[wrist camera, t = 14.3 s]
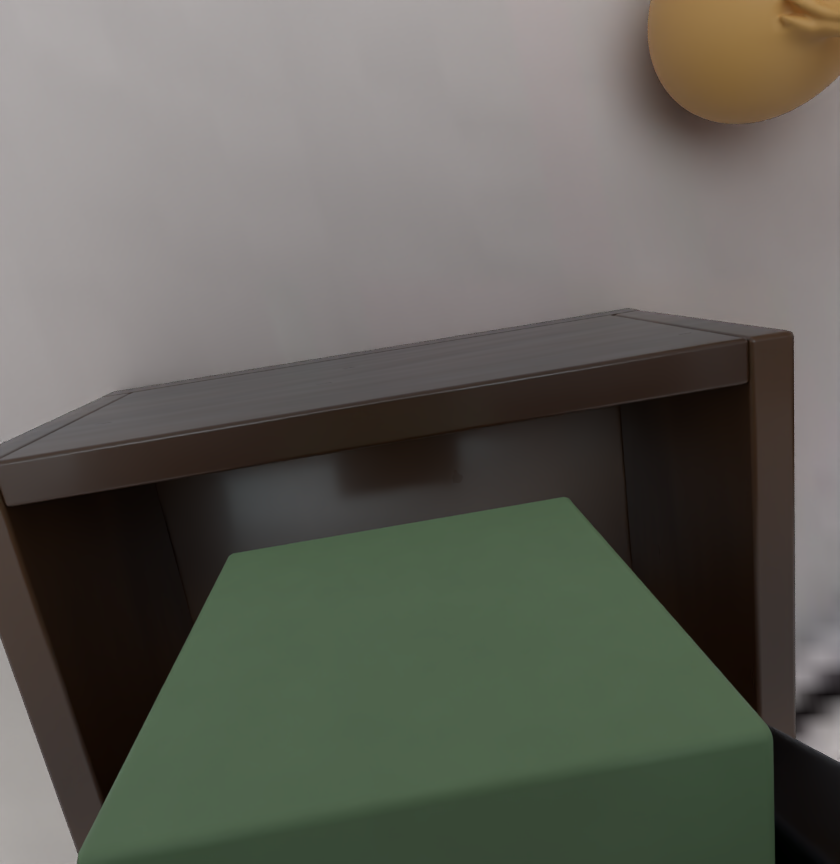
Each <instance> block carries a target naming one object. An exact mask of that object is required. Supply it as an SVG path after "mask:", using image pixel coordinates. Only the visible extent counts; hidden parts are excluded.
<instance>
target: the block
mask: <svg viewBox="0 0 840 864" xmlns="http://www.w3.org/2000/svg"><path fill="white" fill-rule="evenodd" d="M77 864H775V828H774V764H773V737H772V733H771V731H770V729H769V727H768V725H767V724H766V723H765V722H764V721H763V720H762V718H761V717H760V716H759V715H758V714H757V713H756V712H755V710H754V709H753V708H752V707H751V706H750V705H749V704H748V702H747V701H746V700H745V699H744V698H743V697H742V696H741V694H740V693H739V692H738V691H737V690H736V689H735V688H734V686H733V685H732V684H731V683H730V682H729V681H728V680H727V678H726V677H725V676H724V675H723V674H722V673H721V672H720V670H719V669H718V668H717V667H716V666H715V665H714V664H713V662H712V661H711V660H710V659H709V658H708V657H707V656H706V654H705V653H704V652H703V651H702V650H701V649H700V648H699V646H698V645H697V644H696V643H695V642H694V641H693V640H692V638H691V637H690V636H689V635H688V634H687V633H686V632H685V630H684V629H683V628H682V627H681V626H680V625H679V624H678V622H677V621H676V620H675V619H674V618H673V617H672V616H671V614H670V613H669V612H668V611H667V610H666V609H665V608H664V606H663V605H662V604H661V603H660V602H659V601H658V600H657V598H656V597H655V596H654V595H653V594H652V593H651V592H650V590H649V589H648V588H647V587H646V586H645V585H644V584H643V582H642V581H641V580H640V579H639V578H638V577H637V576H636V575H635V573H634V572H633V571H632V570H631V569H630V568H629V567H628V565H627V564H626V563H625V562H624V561H623V560H622V559H621V557H620V556H619V555H618V554H617V553H616V552H615V551H614V549H613V548H612V547H611V546H610V545H609V544H608V543H607V541H606V540H605V539H604V538H603V537H602V536H601V535H600V533H599V532H598V531H597V530H596V529H595V528H594V527H593V525H592V524H591V523H590V522H589V521H588V520H587V519H586V517H585V516H584V515H583V514H582V513H581V512H580V511H579V509H578V508H577V507H576V506H575V505H574V504H573V503H572V501H571V500H570V499H569V498H566V497H560V498H555V499H549V500H543V501H537V502H531V503H525V504H520V505H514V506H508V507H502V508H496V509H490V510H484V511H479V512H473V513H467V514H461V515H455V516H449V517H444V518H438V519H432V520H426V521H420V522H414V523H408V524H403V525H397V526H391V527H385V528H379V529H373V530H367V531H362V532H356V533H350V534H344V535H338V536H332V537H327V538H321V539H315V540H309V541H303V542H297V543H291V544H286V545H280V546H274V547H268V548H262V549H256V550H250V551H245V552H239V553H233V554H231V555H230V556H229V557H228V559H227V561H226V563H225V565H224V567H223V569H222V571H221V573H220V574H219V576H218V578H217V580H216V582H215V584H214V586H213V588H212V590H211V592H210V594H209V596H208V598H207V600H206V602H205V604H204V606H203V608H202V610H201V612H200V614H199V616H198V618H197V620H196V622H195V624H194V626H193V628H192V630H191V632H190V634H189V636H188V638H187V640H186V642H185V644H184V646H183V648H182V650H181V652H180V653H179V655H178V657H177V659H176V661H175V663H174V665H173V667H172V669H171V671H170V673H169V675H168V677H167V679H166V681H165V683H164V685H163V687H162V689H161V691H160V693H159V695H158V697H157V699H156V701H155V703H154V705H153V707H152V709H151V711H150V713H149V715H148V717H147V719H146V721H145V723H144V725H143V727H142V729H141V730H140V732H139V734H138V736H137V738H136V740H135V742H134V744H133V746H132V748H131V750H130V752H129V754H128V756H127V758H126V760H125V762H124V764H123V766H122V768H121V770H120V772H119V774H118V776H117V778H116V780H115V782H114V784H113V786H112V788H111V790H110V792H109V794H108V796H107V798H106V800H105V802H104V804H103V806H102V807H101V809H100V811H99V813H98V815H97V817H96V819H95V821H94V823H93V825H92V827H91V829H90V831H89V833H88V835H87V837H86V839H85V841H84V843H83V845H82V847H81V849H80V851H79V854H78V860H77Z"/></svg>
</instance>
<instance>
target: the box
mask: <svg viewBox="0 0 840 864" xmlns="http://www.w3.org/2000/svg"><path fill="white" fill-rule="evenodd" d="M560 497H566V498H569V499H570V500H571V501H572V503H573V504H574V505H575V506H576V507H577V508H578V509H579V511H580V512H581V513H582V514H583V515H584V516H585V517H586V519H587V520H588V521H589V522H590V523H591V524H592V525H593V527H594V528H595V529H596V530H597V531H598V532H599V533H600V535H601V536H602V537H603V538H604V539H605V540H606V541H607V543H608V544H609V545H610V546H611V547H612V548H613V549H614V551H615V552H616V553H617V554H618V555H619V556H620V557H621V559H622V560H623V561H624V562H625V563H626V564H627V565H628V567H629V568H630V569H631V570H632V571H633V572H634V573H635V575H636V576H637V577H638V578H639V579H640V580H641V581H642V582H643V584H644V585H645V586H646V587H647V588H648V589H649V590H650V592H651V593H652V594H653V595H654V596H655V597H656V598H657V600H658V601H659V602H660V603H661V604H662V605H663V606H664V608H665V609H666V610H667V611H668V612H669V613H670V614H671V616H672V617H673V618H674V619H675V620H676V621H677V622H678V624H679V625H680V626H681V627H682V628H683V629H684V630H685V632H686V633H687V634H688V635H689V636H690V637H691V638H692V640H693V641H694V642H695V643H696V644H697V645H698V646H699V648H700V649H701V650H702V651H703V652H704V653H705V654H706V656H707V657H708V658H709V659H710V660H711V661H712V662H713V664H714V665H715V666H716V667H717V668H718V669H719V670H720V672H721V673H722V674H723V675H724V676H725V677H726V678H727V680H728V681H729V682H730V683H731V684H732V685H733V686H734V688H735V689H736V690H737V691H738V692H739V693H740V694H741V696H742V697H743V698H744V699H745V700H746V701H747V702H748V704H749V705H750V706H751V707H752V708H753V709H754V710H755V712H756V713H757V714H758V715H759V716H760V717H761V718H762V720H763V721H764V722H765V723H767V724H768V725H770V726H772V727H774V728H776V729H778V730H780V731H781V732H783V733H785V734H787V735H789V736H791V737H793V738H795V739H796V717H795V515H794V336H793V333H792V332H791V331H787V330H780V329H773V328H765V327H758V326H751V325H743V324H736V323H729V322H721V321H714V320H707V319H699V318H692V317H685V316H677V315H670V314H662V313H655V312H648V311H640V310H636V309H629V308H628V309H622V310H616V311H610V312H604V313H597V314H591V315H585V316H579V317H573V318H566V319H560V320H554V321H548V322H542V323H536V324H529V325H523V326H517V327H511V328H505V329H498V330H492V331H486V332H480V333H474V334H468V335H461V336H455V337H449V338H443V339H437V340H430V341H424V342H418V343H412V344H406V345H399V346H393V347H387V348H381V349H375V350H369V351H362V352H356V353H350V354H344V355H338V356H331V357H325V358H319V359H313V360H307V361H301V362H294V363H288V364H282V365H276V366H270V367H263V368H257V369H251V370H245V371H239V372H233V373H226V374H220V375H214V376H208V377H202V378H195V379H189V380H183V381H177V382H171V383H165V384H158V385H152V386H146V387H140V388H134V389H127V390H121V391H115V392H112V393H110V394H108V395H105V396H103V397H102V398H99V399H97V400H95V401H93V402H91V403H89V404H86V405H84V406H82V407H80V408H78V409H76V410H73V411H71V412H69V413H67V414H65V415H63V416H60V417H58V418H56V419H54V420H52V421H50V422H47V423H45V424H43V425H41V426H39V427H37V428H34V429H32V430H30V431H28V432H26V433H23V434H21V435H19V436H17V437H15V438H13V439H10V440H8V441H6V442H4V443H2V444H0V638H1V640H2V643H3V646H4V649H5V652H6V654H7V657H8V660H9V663H10V666H11V668H12V671H13V674H14V677H15V680H16V682H17V685H18V688H19V691H20V693H21V696H22V699H23V702H24V705H25V707H26V710H27V713H28V716H29V719H30V721H31V724H32V727H33V730H34V733H35V735H36V738H37V741H38V744H39V747H40V749H41V752H42V755H43V758H44V760H45V763H46V766H47V769H48V772H49V774H50V777H51V780H52V783H53V786H54V788H55V791H56V794H57V797H58V800H59V802H60V805H61V808H62V811H63V814H64V816H65V819H66V822H67V825H68V827H69V830H70V833H71V836H72V839H73V841H74V844H75V847H76V850H77V853H78V854H79V851H80V849H81V847H82V845H83V843H84V841H85V839H86V837H87V835H88V833H89V831H90V829H91V827H92V825H93V823H94V821H95V819H96V817H97V815H98V813H99V811H100V809H101V807H102V806H103V804H104V802H105V800H106V798H107V796H108V794H109V792H110V790H111V788H112V786H113V784H114V782H115V780H116V778H117V776H118V774H119V772H120V770H121V768H122V766H123V764H124V762H125V760H126V758H127V756H128V754H129V752H130V750H131V748H132V746H133V744H134V742H135V740H136V738H137V736H138V734H139V732H140V730H141V729H142V727H143V725H144V723H145V721H146V719H147V717H148V715H149V713H150V711H151V709H152V707H153V705H154V703H155V701H156V699H157V697H158V695H159V693H160V691H161V689H162V687H163V685H164V683H165V681H166V679H167V677H168V675H169V673H170V671H171V669H172V667H173V665H174V663H175V661H176V659H177V657H178V655H179V653H180V652H181V650H182V648H183V646H184V644H185V642H186V640H187V638H188V636H189V634H190V632H191V630H192V628H193V626H194V624H195V622H196V620H197V618H198V616H199V614H200V612H201V610H202V608H203V606H204V604H205V602H206V600H207V598H208V596H209V594H210V592H211V590H212V588H213V586H214V584H215V582H216V580H217V578H218V576H219V574H220V573H221V571H222V569H223V567H224V565H225V563H226V561H227V559H228V557H229V556H230V555H231V554H233V553H239V552H245V551H250V550H256V549H262V548H268V547H274V546H280V545H286V544H291V543H297V542H303V541H309V540H315V539H321V538H327V537H332V536H338V535H344V534H350V533H356V532H362V531H367V530H373V529H379V528H385V527H391V526H397V525H403V524H408V523H414V522H420V521H426V520H432V519H438V518H444V517H449V516H455V515H461V514H467V513H473V512H479V511H484V510H490V509H496V508H502V507H508V506H514V505H520V504H525V503H531V502H537V501H543V500H549V499H555V498H560Z"/></svg>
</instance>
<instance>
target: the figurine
mask: <svg viewBox="0 0 840 864" xmlns="http://www.w3.org/2000/svg"><path fill="white" fill-rule="evenodd" d="M648 45H649V51H650V56H651V60H652V63H653V66H654V69H655V72H656V74H657V76H658V78H659V80H660V82H661V84H662V85H663V87H664V88H665V90H666V91H667V92H668V94H669V95H670V96H671V97H672V98H673V99H674V100H675V101H676V102H677V103H678V104H679V105H681V106H682V107H683V108H685V109H686V110H688V111H689V112H691V113H693V114H695V115H697V116H699V117H701V118H704V119H707V120H710V121H714V122H719V123H726V124H747V123H754V122H760V121H764V120H768V119H771V118H774V117H777V116H780V115H782V114H785V113H787V112H789V111H791V110H793V109H795V108H797V107H799V106H801V105H803V104H804V103H806V102H807V101H809V100H811V99H812V98H813V97H815V96H816V95H818V94H819V93H820V92H821V91H823V90H824V89H825V88H826V87H828V86H829V85H830V84H831V83H832V82H833V81H834V80H835V79H836V78H837V77H838V76H839V75H840V0H651V2H650V8H649V15H648Z"/></svg>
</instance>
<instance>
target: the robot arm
mask: <svg viewBox="0 0 840 864" xmlns="http://www.w3.org/2000/svg"><path fill="white" fill-rule="evenodd" d="M766 724H767V723H766ZM767 725H768V724H767ZM768 727H769V729H770V731H771V733H772V737H773V764H774V828H775V864H840V763H839V762H837V761H836V760H834V759H832V758H830V757H828V756H826V755H824V754H823V753H821V752H819V751H817V750H815V749H813V748H811V747H809V746H808V745H806V744H804V743H802V742H800V741H798V740H796V739H795V738H793V737H791V736H789V735H787V734H785V733H783V732H781V731H780V730H778V729H776V728H774V727H772V726H770V725H768Z"/></svg>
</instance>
